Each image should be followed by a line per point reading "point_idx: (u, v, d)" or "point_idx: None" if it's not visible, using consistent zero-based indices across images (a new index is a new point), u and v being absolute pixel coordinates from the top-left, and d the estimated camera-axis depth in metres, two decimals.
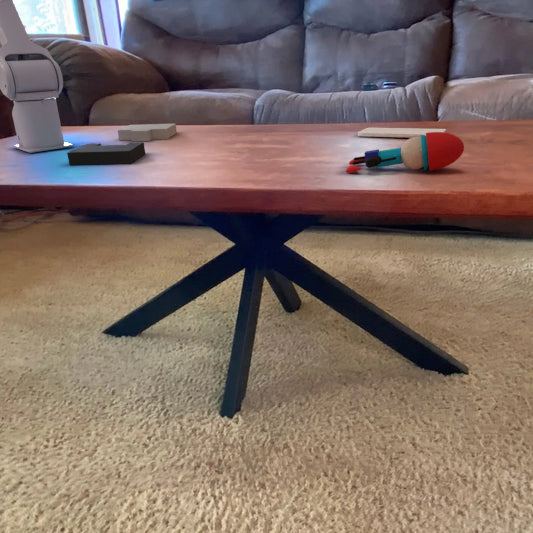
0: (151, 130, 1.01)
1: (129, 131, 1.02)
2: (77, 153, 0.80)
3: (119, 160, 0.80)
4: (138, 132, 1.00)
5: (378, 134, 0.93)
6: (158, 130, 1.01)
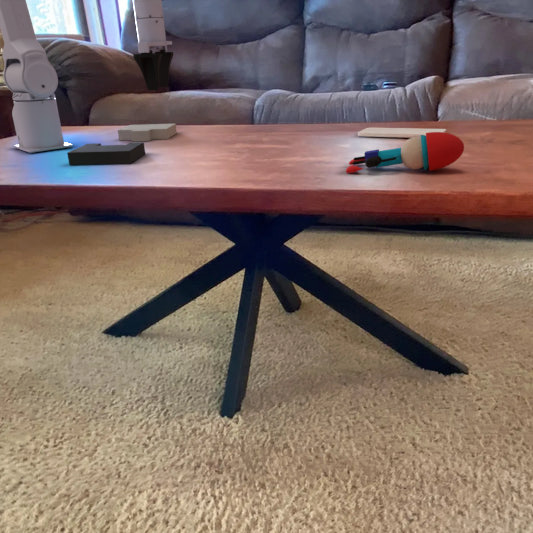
0: (151, 130, 1.01)
1: (129, 131, 1.02)
2: (77, 153, 0.80)
3: (119, 160, 0.80)
4: (138, 132, 1.00)
5: (378, 134, 0.93)
6: (158, 130, 1.01)
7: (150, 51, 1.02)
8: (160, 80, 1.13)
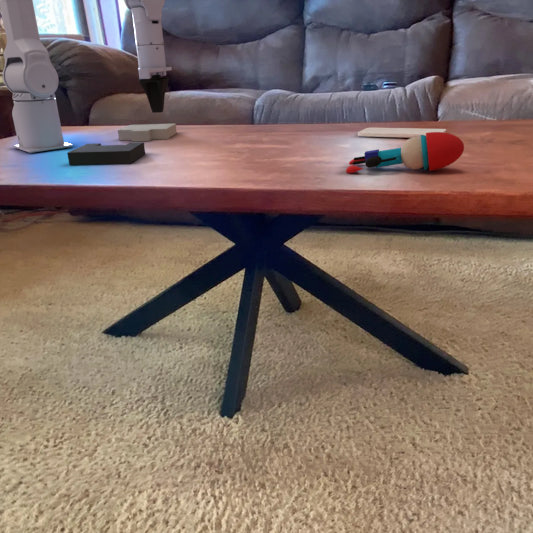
0: (151, 130, 1.01)
1: (129, 131, 1.02)
2: (77, 153, 0.80)
3: (119, 160, 0.80)
4: (138, 132, 1.00)
5: (378, 134, 0.93)
6: (158, 130, 1.01)
7: (155, 76, 1.08)
8: None
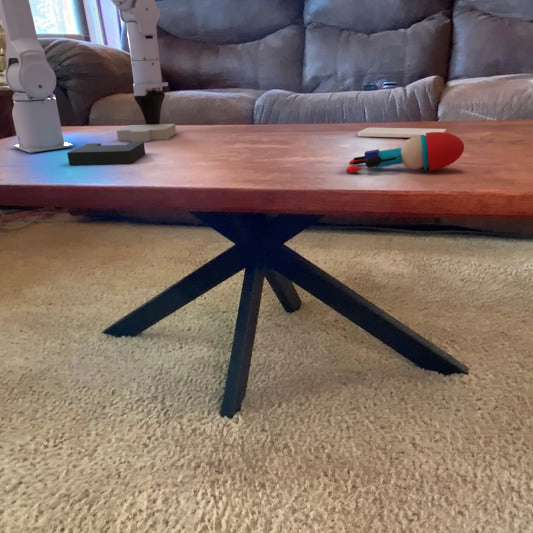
0: (150, 130, 1.01)
1: (128, 131, 1.01)
2: (77, 153, 0.80)
3: (119, 160, 0.80)
4: (137, 133, 0.99)
5: (378, 134, 0.93)
6: (157, 130, 1.01)
7: (151, 92, 1.05)
8: None
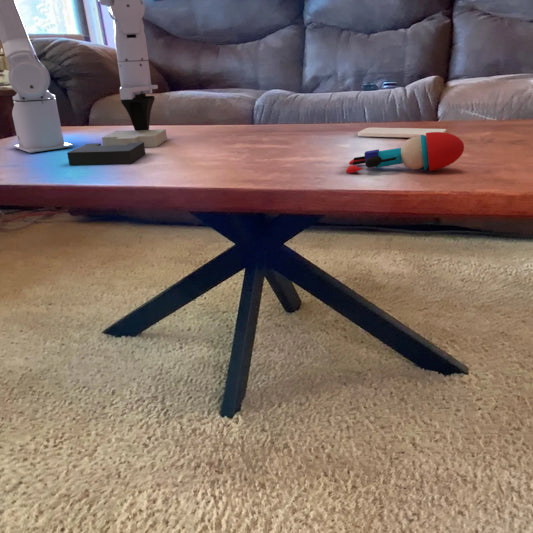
0: (138, 137, 0.93)
1: (114, 138, 0.93)
2: (77, 153, 0.80)
3: (119, 160, 0.80)
4: (124, 139, 0.91)
5: (378, 134, 0.93)
6: (146, 137, 0.93)
7: (139, 95, 0.97)
8: None
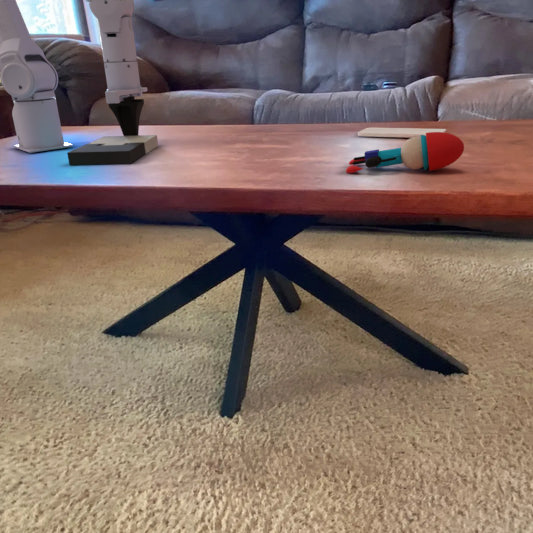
0: (126, 144, 0.86)
1: None
2: (77, 153, 0.80)
3: (119, 160, 0.80)
4: None
5: (378, 134, 0.93)
6: None
7: (127, 99, 0.91)
8: None
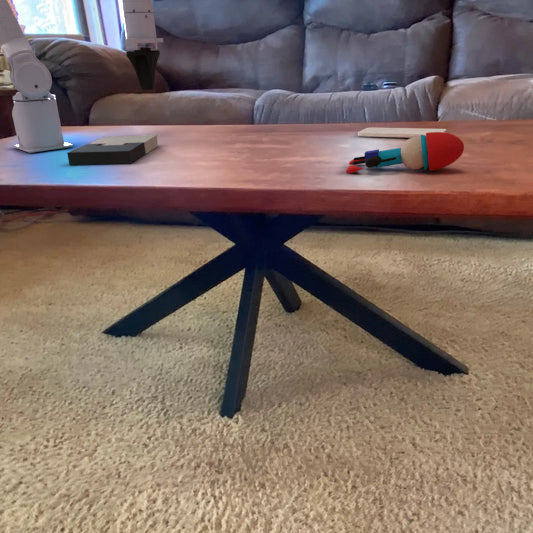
0: (126, 144, 0.86)
1: None
2: (77, 153, 0.80)
3: (119, 160, 0.80)
4: None
5: (378, 134, 0.93)
6: None
7: (144, 48, 0.97)
8: None
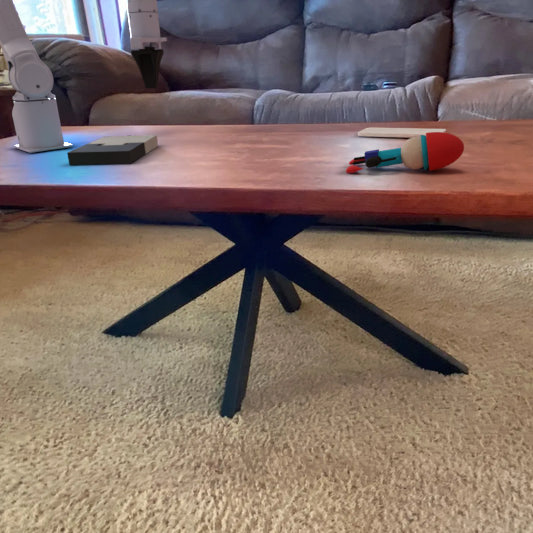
0: (126, 144, 0.86)
1: None
2: (77, 153, 0.80)
3: (119, 160, 0.80)
4: None
5: (378, 134, 0.93)
6: None
7: (148, 47, 0.99)
8: None
